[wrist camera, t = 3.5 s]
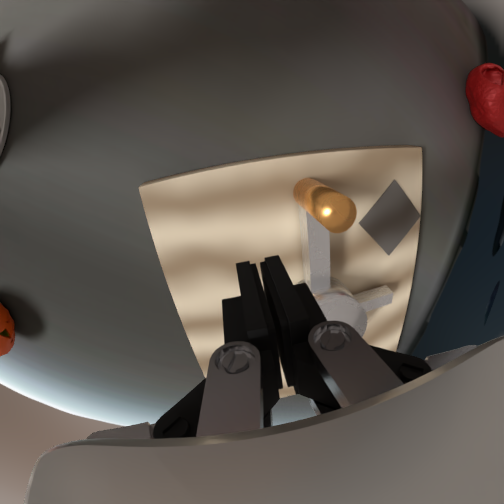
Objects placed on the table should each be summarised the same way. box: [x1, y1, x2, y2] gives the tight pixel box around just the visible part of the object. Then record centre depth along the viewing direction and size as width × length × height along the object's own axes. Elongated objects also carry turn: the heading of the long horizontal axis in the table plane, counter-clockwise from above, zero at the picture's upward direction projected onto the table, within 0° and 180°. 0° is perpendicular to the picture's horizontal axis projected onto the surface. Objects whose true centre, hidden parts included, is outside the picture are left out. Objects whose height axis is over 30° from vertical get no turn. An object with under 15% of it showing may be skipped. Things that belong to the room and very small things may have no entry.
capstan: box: [293, 178, 393, 337], centre depth 23 cm, size 22×17×6 cm
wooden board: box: [139, 145, 422, 398], centre depth 28 cm, size 30×26×2 cm
